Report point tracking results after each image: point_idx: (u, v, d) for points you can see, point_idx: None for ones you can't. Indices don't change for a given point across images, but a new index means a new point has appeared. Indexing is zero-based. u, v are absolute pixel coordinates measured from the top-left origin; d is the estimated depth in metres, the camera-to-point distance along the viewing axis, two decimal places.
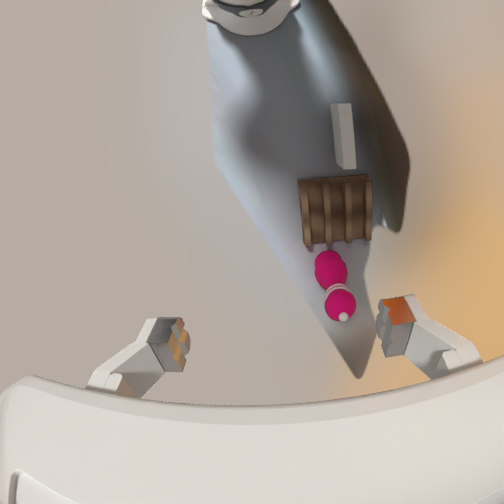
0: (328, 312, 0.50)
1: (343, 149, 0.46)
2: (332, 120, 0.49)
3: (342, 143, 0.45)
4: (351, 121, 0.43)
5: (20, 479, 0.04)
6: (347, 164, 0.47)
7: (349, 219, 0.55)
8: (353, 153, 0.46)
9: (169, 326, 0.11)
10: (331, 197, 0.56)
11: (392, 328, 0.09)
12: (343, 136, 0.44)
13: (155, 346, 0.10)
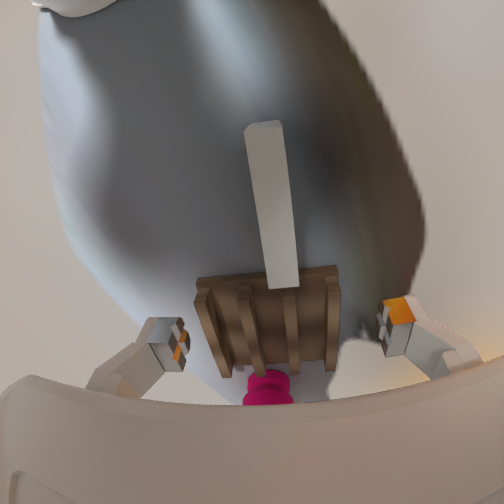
0: None
1: (265, 247, 0.20)
2: None
3: (262, 233, 0.20)
4: (284, 176, 0.18)
5: (20, 479, 0.04)
6: (277, 279, 0.22)
7: (293, 348, 0.30)
8: (291, 255, 0.21)
9: (169, 326, 0.11)
10: (262, 309, 0.31)
11: (392, 328, 0.09)
12: (265, 218, 0.19)
13: (155, 346, 0.10)
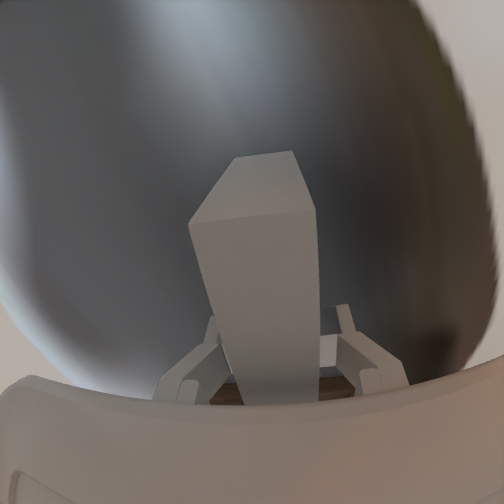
0: None
1: None
2: None
3: None
4: (308, 337, 0.07)
5: (20, 479, 0.04)
6: None
7: None
8: None
9: None
10: None
11: None
12: (258, 399, 0.08)
13: None
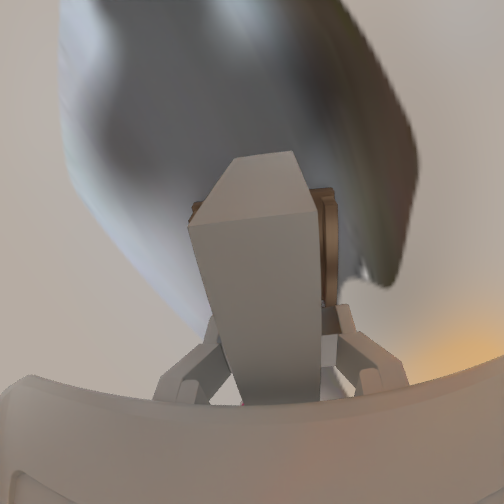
0: None
1: None
2: None
3: None
4: (310, 340, 0.06)
5: (20, 479, 0.04)
6: None
7: None
8: None
9: None
10: None
11: None
12: (259, 402, 0.08)
13: None
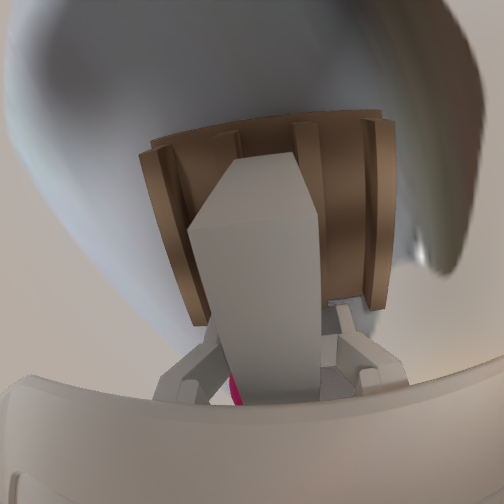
0: None
1: None
2: None
3: None
4: (309, 342, 0.06)
5: (20, 479, 0.04)
6: None
7: None
8: None
9: None
10: None
11: None
12: (259, 403, 0.08)
13: None
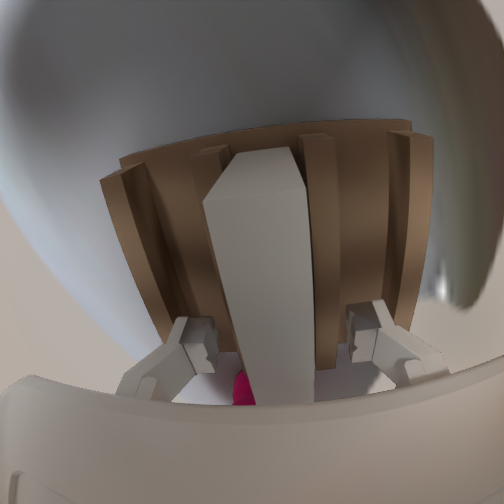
0: None
1: (260, 399, 0.10)
2: None
3: (254, 384, 0.10)
4: (303, 302, 0.08)
5: (20, 479, 0.04)
6: None
7: (327, 303, 0.13)
8: None
9: (202, 325, 0.10)
10: None
11: (355, 334, 0.09)
12: (259, 367, 0.09)
13: (188, 347, 0.10)
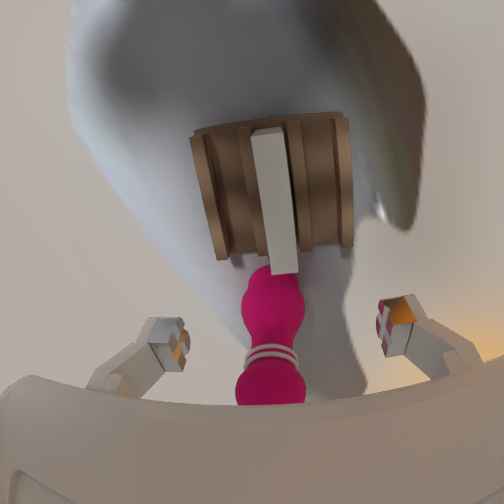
0: None
1: (268, 237, 0.23)
2: None
3: (266, 224, 0.23)
4: (285, 174, 0.21)
5: (20, 479, 0.04)
6: (279, 266, 0.25)
7: (302, 202, 0.26)
8: (291, 244, 0.24)
9: (169, 326, 0.11)
10: None
11: (392, 328, 0.09)
12: (268, 211, 0.22)
13: (155, 346, 0.10)
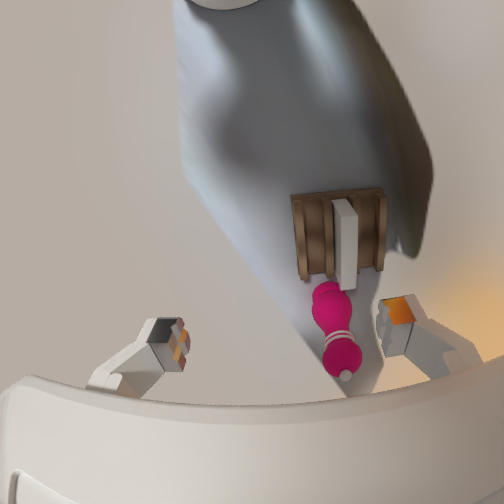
0: (327, 368, 0.37)
1: (342, 270, 0.40)
2: None
3: (342, 263, 0.39)
4: (355, 237, 0.37)
5: (20, 479, 0.04)
6: (345, 285, 0.41)
7: None
8: (354, 273, 0.40)
9: (169, 326, 0.11)
10: None
11: (392, 328, 0.09)
12: (344, 256, 0.39)
13: (155, 346, 0.10)
